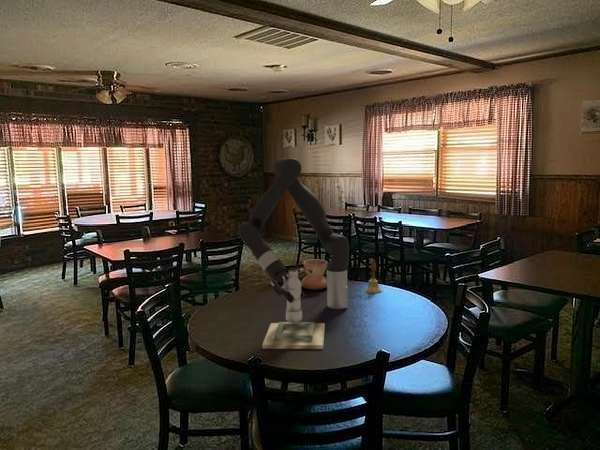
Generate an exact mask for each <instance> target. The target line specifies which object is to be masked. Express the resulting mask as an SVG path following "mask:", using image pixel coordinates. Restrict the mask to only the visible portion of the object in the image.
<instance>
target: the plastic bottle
mask: <svg viewBox="0 0 600 450" xmlns="http://www.w3.org/2000/svg"><path fill="white" fill-rule="evenodd" d="M287 273H288V276H289V278H288V279H287V280H286V288H287V290H288V292H289V293H290V294H291V295H292V297H293V298H294V301H293V302H292V303H290V302H289V301H288V300H287V299H286V308H285V320H286V322H290V323H298V322H302V320H303V311H302V303H301V299H302V298H301V290H302V287H303V285H302V280H300V279H299V277H298V276H299V271H298V269H297V270H296V269H290V270H288V272H287Z"/></svg>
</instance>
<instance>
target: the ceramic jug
mask: <svg viewBox="0 0 600 450" xmlns="http://www.w3.org/2000/svg"><path fill="white" fill-rule="evenodd" d="M327 263H328V261H327V260H326V259H320V258H319V259H317V258H313V259H306V260H304V261H303V267H301V268H299V271H300V272H305V273H306V276H305V277H303V278H302V279H301V284H302V287H303V288H304V289H307V290H311V291H320V290H323V289H327V276H324V275H325V272H326V271H327Z"/></svg>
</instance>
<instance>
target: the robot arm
mask: <svg viewBox="0 0 600 450" xmlns="http://www.w3.org/2000/svg"><path fill="white" fill-rule="evenodd" d="M273 173H274V175H275V177H276V180H275V181H274V183H273V184H272V185H271V186H270V187H269V189H267V191H265V192H264V193H263V194H261V196H260V197H259V199H258V200H257V201H256V203H255V205H254V207H253V208H252V209H251V211H250V214H249V220H248V221H244V222H242V223H240V224H239V226H238V227H237V228H238V229H237V233H238V235H239V237H240V239H241V240H242V242H243V243H245V245H246V246H247V247H248V249H249V250H250V252H251V254H252V255H253V257H254V258H255V259H256V261H257V262H258V264H259V265H260V267H261V269H262V270H263V272H264V273H265V274H266V276H267V277H268V278H269V279H270V280H271V281H270V282H269V286H270V287H271V288H272V289H273V291H274V292H275V293H276V294H277V295H278V296H282V297H283V296H284V297H285V299H286V301H287V300H288V301H289V302H290V303H292V302H293V301H294V298H293V297H292V295H291V294H290V293H289V292H288V290H287V288H286V280H287V279H288V278H289V276H288V272H287V267H286V265H285V264H284V263H283V262H282V260H281V259H280V258H279V255H277V254H276V252H274V251H273V250H272V248H271V246H269V244H268V243H267V242H266V240H264V239H263V237H262V235H261V233H262V230H263V229H264V228H263V227H264V225H265V223H266V221H267V220H268V218H269V217H270V216H271V213H272V212H273V210H274V209H275V207H276V206H277V204H278V202H279V201H280V200H281V198H282V197H283V196H284V195H285V193H287V192H288V194H289V195H290V197H291V198H292V201H294V203H295V204H296V205H297V207H298V210H299V211H300V212H301V214H302V215H303V216H304V218H305V220H307V222H308V224H309V226H310V227H311V228H312V230H313V231H314V233H315V234H316V236H317V238H318V239H319V241H320V244H321V246H322V247H323V249H324V251H325V252H327V253H328V254H330V255H331V260H330V261H329V262H327V269H326V278H327V287H326V296H327V297H326V299H327V301H326V303H327V307H328V308H329V309H334V310H342V309H348V308H349V307H348V305H349V304H348V300H349V299H348V295H349V294H348V266H349V263H350V262H349V261H350V243H349V239H348V238H347V237H346V236H344V235H341V234H337V233H335V232H334V230H333V229H332V228H331V226H330V225H329V223H328V219H327V214H326V210H325V208H324V206H323V204H322V203H321V201H320V199H319V197H318V196H317V195H316V194H315V193H314V192H312V191H311V190H310V189H309V188H308V187H307V186H305V185H304V184H303V183H302V182H301V180H300V179H299V177H300V175H301V173H302V165H301V162H300V160H298V159H296V158H294V157H282V158H278V159H277V160H275V162H274V163H273ZM303 297H305V294H304V292H303V290H302V289H301V298H300V299H302V298H303Z"/></svg>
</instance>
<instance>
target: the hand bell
mask: <svg viewBox="0 0 600 450" xmlns="http://www.w3.org/2000/svg"><path fill="white" fill-rule="evenodd" d="M376 269H377V263H376V260H375V259H372V260H371V262H370V270H371V278H370V279H369V280H368V285H367V287H366V289H364V290H365V292H366V293H367V294H368V293H369V294H379V293H381V292H383V290H382V289H381V287H380V286H379V281H378V280H377V279H376Z"/></svg>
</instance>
